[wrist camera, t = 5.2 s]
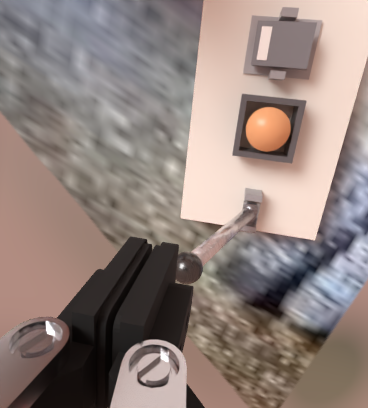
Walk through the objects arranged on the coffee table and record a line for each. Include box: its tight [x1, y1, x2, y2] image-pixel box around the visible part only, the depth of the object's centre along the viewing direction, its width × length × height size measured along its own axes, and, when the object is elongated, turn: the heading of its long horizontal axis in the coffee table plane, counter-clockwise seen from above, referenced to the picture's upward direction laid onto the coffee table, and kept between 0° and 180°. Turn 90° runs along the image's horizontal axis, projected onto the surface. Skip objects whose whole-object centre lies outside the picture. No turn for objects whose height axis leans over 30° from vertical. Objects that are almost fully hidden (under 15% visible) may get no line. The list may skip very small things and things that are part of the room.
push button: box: [246, 107, 291, 152], centre depth 26 cm, size 4×4×2 cm
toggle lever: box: [176, 200, 261, 284], centre depth 24 cm, size 2×2×14 cm
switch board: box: [181, 0, 368, 240], centre depth 28 cm, size 14×21×6 cm, turn 174°
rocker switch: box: [251, 20, 317, 70], centre depth 24 cm, size 4×3×1 cm
